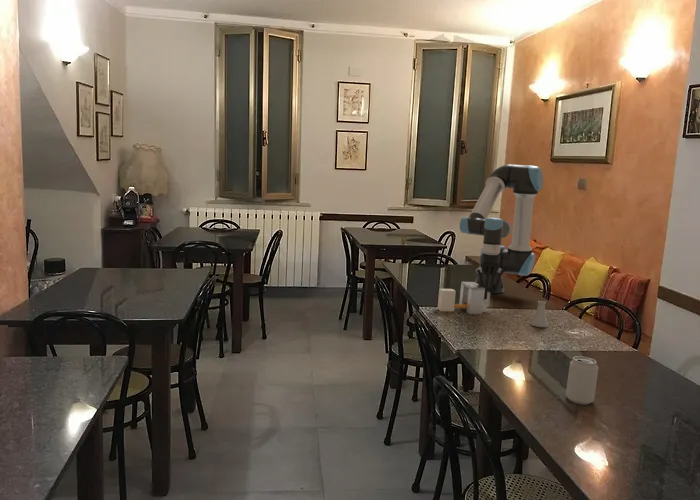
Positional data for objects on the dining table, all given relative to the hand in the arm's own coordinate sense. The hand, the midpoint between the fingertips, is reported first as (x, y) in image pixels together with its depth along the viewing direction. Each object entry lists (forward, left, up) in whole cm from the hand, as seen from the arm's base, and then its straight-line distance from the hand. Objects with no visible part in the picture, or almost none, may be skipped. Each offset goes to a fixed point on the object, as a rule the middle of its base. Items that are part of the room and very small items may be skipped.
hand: (486, 306), depth 265 cm
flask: (-14, +22, -2) cm, 26 cm away
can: (+14, +97, -2) cm, 98 cm away
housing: (+7, 0, -2) cm, 8 cm away
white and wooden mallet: (+11, 0, -2) cm, 11 cm away
